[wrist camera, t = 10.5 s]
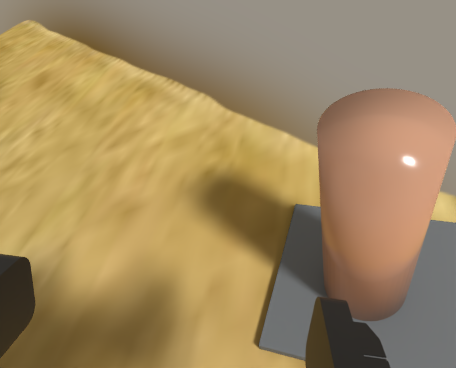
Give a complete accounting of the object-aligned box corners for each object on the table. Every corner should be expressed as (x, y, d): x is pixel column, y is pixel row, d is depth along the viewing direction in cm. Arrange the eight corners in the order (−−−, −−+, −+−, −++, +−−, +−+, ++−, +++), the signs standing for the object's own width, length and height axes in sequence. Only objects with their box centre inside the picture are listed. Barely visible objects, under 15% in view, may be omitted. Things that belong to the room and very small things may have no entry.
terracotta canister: (317, 310, 25) (306, 166, 15) (329, 243, 28) (327, 87, 18) (405, 330, 23) (460, 180, 13) (408, 255, 27) (453, 89, 16)
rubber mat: (260, 348, 25) (258, 345, 25) (296, 208, 32) (295, 204, 32) (468, 404, 21) (471, 401, 20) (456, 227, 28) (458, 223, 27)
